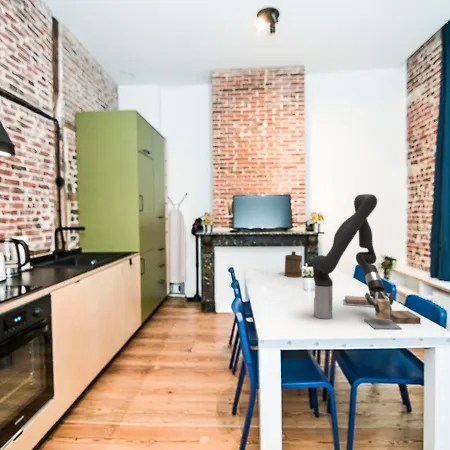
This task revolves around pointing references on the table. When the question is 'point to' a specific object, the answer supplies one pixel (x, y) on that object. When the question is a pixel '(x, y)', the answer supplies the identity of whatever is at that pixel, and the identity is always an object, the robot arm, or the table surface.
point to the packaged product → (356, 301)
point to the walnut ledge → (404, 317)
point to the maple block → (383, 309)
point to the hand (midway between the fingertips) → (384, 311)
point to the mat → (382, 324)
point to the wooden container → (293, 265)
